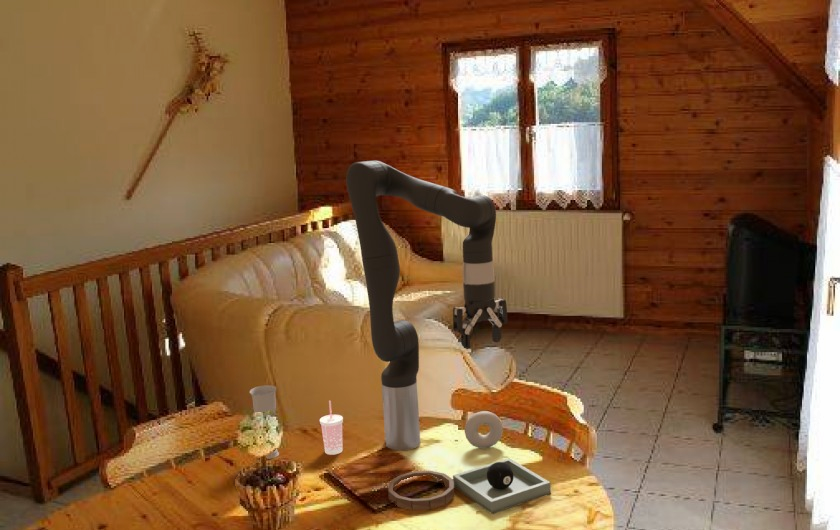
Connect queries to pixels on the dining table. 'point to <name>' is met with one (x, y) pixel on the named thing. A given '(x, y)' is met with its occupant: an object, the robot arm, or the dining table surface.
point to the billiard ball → (500, 475)
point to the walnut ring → (423, 502)
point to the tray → (497, 500)
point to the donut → (481, 419)
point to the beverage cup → (332, 432)
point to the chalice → (264, 404)
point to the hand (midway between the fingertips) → (481, 345)
